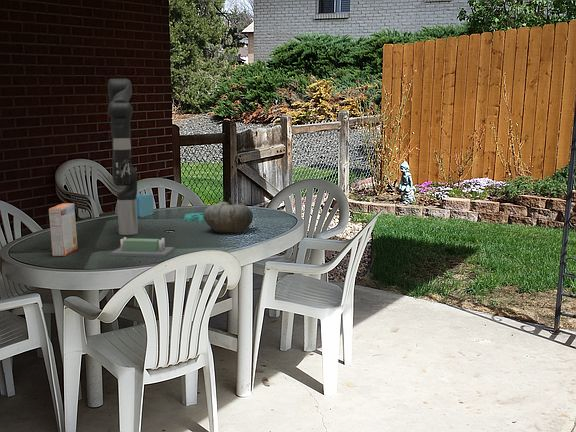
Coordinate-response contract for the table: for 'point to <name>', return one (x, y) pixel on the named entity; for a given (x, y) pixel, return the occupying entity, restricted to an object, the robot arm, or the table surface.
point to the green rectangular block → (141, 245)
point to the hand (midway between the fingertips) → (123, 184)
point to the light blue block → (144, 205)
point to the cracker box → (63, 229)
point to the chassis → (161, 252)
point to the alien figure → (194, 217)
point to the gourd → (228, 217)
